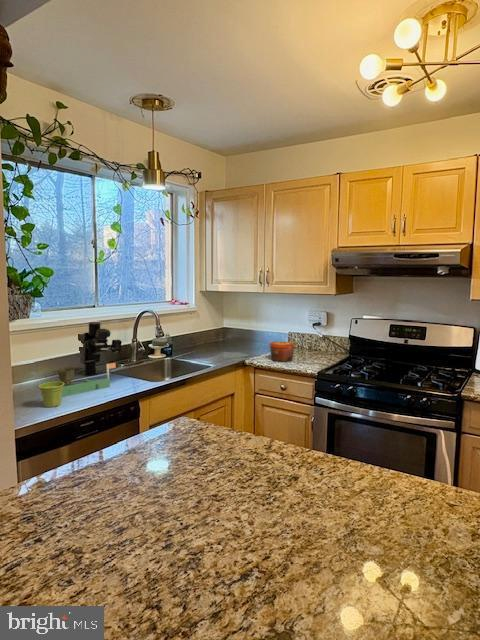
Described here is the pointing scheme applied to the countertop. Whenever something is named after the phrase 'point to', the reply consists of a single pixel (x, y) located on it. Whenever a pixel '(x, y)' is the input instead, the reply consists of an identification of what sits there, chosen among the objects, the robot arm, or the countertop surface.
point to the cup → (66, 375)
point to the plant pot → (52, 393)
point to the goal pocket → (88, 384)
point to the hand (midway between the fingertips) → (110, 350)
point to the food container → (282, 351)
